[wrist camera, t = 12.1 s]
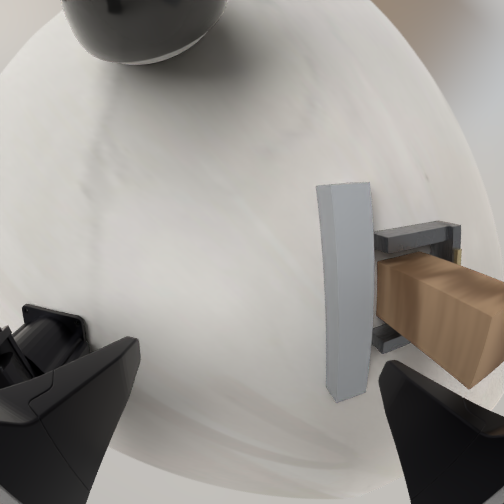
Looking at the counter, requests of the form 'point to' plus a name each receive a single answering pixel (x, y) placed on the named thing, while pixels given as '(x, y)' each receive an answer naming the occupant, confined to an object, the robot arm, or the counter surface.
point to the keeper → (403, 238)
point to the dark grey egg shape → (140, 27)
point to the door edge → (347, 285)
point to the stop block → (444, 312)
